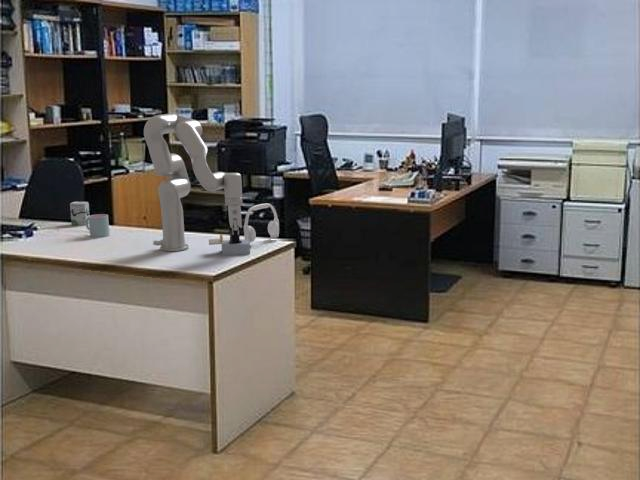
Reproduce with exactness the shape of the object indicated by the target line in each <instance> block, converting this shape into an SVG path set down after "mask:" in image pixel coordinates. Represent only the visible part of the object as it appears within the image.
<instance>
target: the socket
mask: <svg viewBox="0 0 640 480" xmlns="http://www.w3.org/2000/svg"><path fill="white" fill-rule="evenodd" d="M221 254H222V256H235V255H239V254H240V255H250V254H251V242H250V243H249V240H248V239H245V238H243V239H240V243H236V244H230V239H228V240H224V239H223V244H221Z"/></svg>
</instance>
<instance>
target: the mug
mask: <svg viewBox="0 0 640 480" xmlns="http://www.w3.org/2000/svg"><path fill="white" fill-rule="evenodd" d="M88 220H89V224H88ZM85 227H86V229H87V230H88V231H89V237H90V238H93V239H96V238H97V239H100V238H101V239H102V238H107V237H109V236H110V223H109V215H108V214H105V213H100V214H98V213H97V214H91V215H90V214H89V217H88V218H87V219H86V225H85Z"/></svg>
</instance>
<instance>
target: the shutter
mask: <svg viewBox="0 0 640 480" xmlns="http://www.w3.org/2000/svg"><path fill="white" fill-rule="evenodd" d="M223 241H224V238H223V234H222V233H221V234H219V238H213V239H211V238H210V239H208V246H212V245H222V244H223Z"/></svg>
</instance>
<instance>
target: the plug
mask: <svg viewBox="0 0 640 480" xmlns="http://www.w3.org/2000/svg"><path fill="white" fill-rule="evenodd" d="M240 232H241V231H240V230H239V237H240ZM232 235H233V234H232V229H230V230H229V240H230V244H232Z"/></svg>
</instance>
